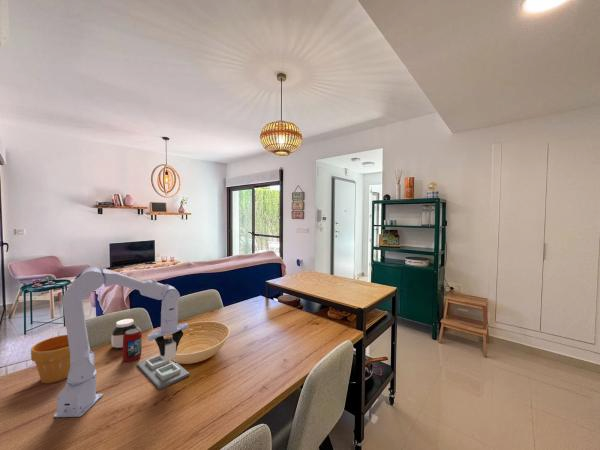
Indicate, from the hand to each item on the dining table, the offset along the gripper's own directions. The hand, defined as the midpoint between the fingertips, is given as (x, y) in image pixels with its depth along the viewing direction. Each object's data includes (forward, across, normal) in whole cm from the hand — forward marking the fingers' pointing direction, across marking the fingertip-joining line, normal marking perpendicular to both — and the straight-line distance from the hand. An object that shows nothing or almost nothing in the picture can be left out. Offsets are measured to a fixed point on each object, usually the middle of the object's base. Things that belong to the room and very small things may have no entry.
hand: (168, 352), depth 96 cm
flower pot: (+9, +27, -30) cm, 42 cm away
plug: (+2, 0, 0) cm, 2 cm away
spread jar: (+9, +2, -40) cm, 41 cm away
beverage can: (+9, +5, -24) cm, 26 cm away
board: (+9, 0, -5) cm, 10 cm away
